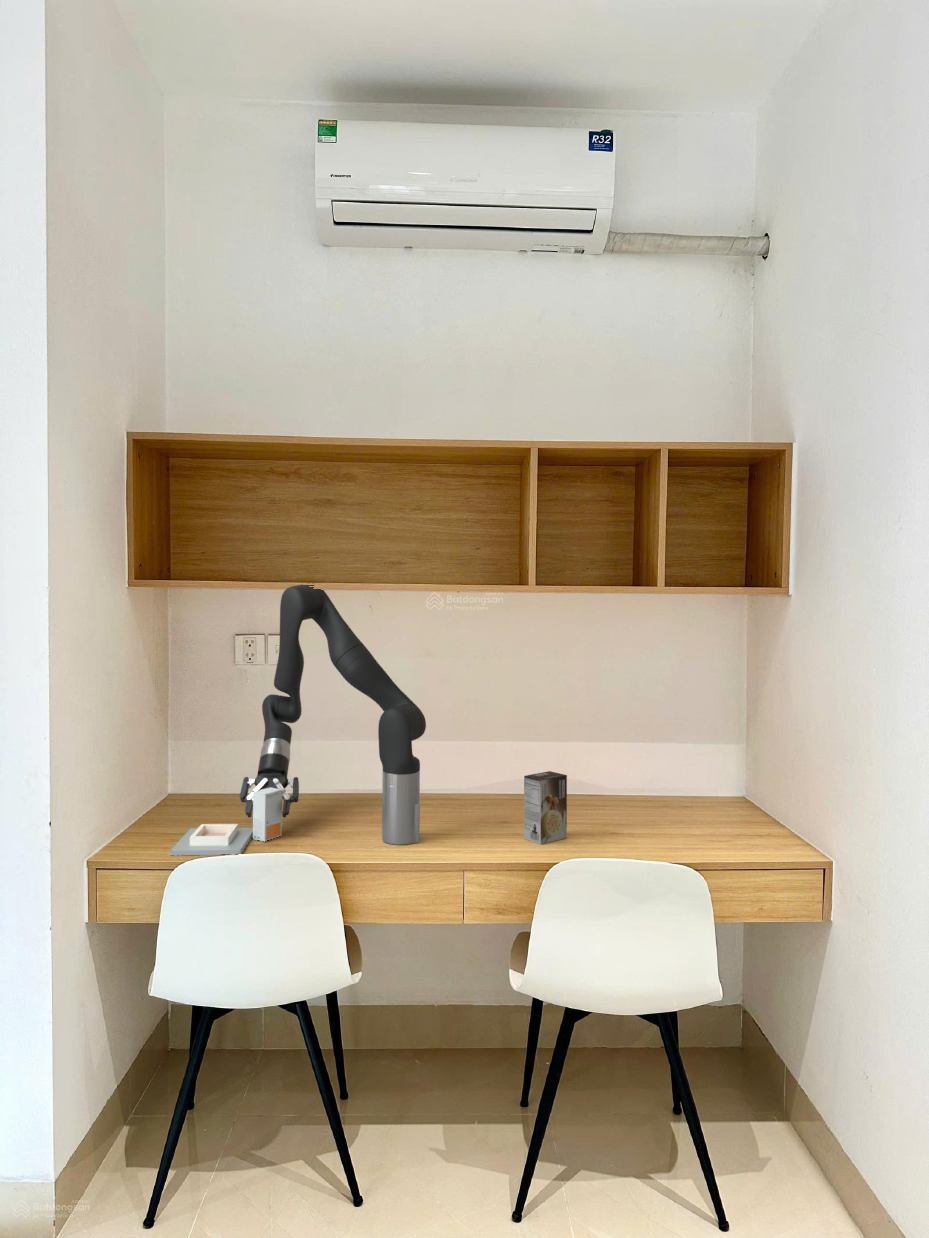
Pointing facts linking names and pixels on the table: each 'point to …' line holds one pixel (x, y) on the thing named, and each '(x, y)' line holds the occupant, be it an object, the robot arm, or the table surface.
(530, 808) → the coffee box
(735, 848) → the table surface
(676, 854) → the table surface
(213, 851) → the board
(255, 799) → the skincare box
